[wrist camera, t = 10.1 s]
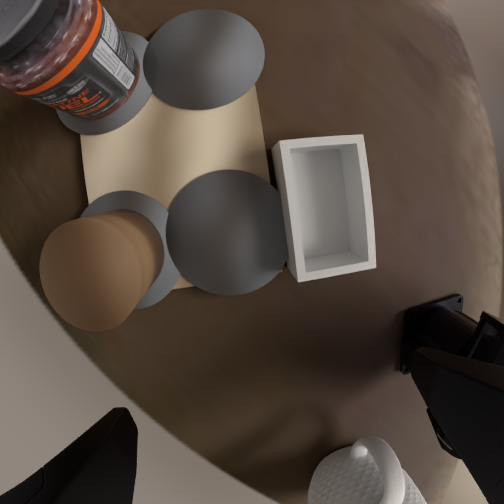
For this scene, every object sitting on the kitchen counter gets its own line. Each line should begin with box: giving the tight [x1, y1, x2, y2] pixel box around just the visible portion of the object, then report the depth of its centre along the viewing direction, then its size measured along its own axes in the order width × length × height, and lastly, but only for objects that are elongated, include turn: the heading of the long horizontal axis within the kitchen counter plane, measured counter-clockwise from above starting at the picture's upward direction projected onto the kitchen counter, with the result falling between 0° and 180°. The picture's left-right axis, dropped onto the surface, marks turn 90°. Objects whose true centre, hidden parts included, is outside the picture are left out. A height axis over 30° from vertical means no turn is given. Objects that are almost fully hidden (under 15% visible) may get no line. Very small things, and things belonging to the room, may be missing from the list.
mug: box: [308, 436, 427, 504], centre depth 19 cm, size 15×11×13 cm
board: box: [39, 9, 289, 332], centre depth 15 cm, size 15×20×7 cm
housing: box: [271, 135, 376, 282], centre depth 18 cm, size 5×8×4 cm, turn 9°
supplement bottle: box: [0, 0, 140, 119], centre depth 11 cm, size 6×6×11 cm
